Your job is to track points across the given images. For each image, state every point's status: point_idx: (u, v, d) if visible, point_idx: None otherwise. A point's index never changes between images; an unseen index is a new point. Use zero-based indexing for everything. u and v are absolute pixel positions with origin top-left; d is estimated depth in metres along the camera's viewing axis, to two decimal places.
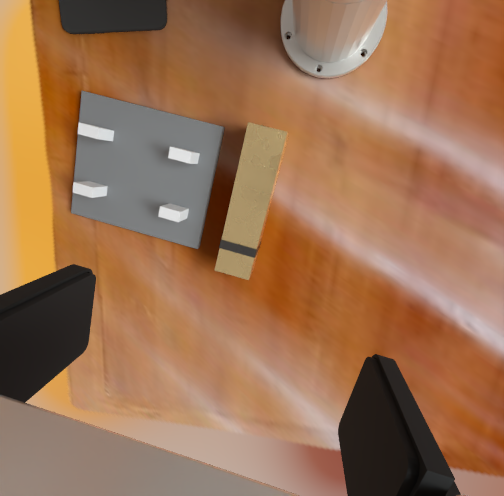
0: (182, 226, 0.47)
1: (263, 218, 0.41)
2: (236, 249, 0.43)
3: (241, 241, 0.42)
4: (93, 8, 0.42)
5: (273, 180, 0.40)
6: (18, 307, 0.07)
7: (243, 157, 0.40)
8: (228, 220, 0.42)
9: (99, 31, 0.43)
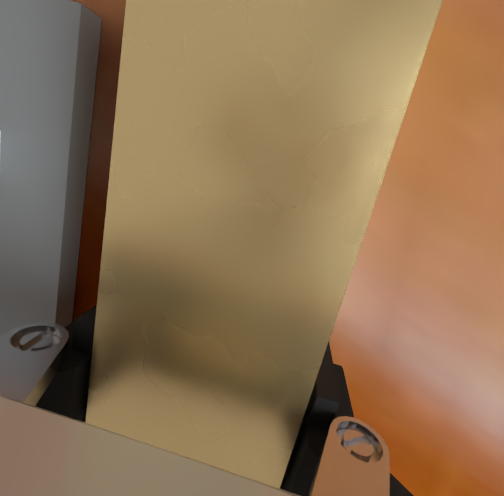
0: None
1: (273, 484, 0.07)
2: None
3: None
4: None
5: (335, 293, 0.06)
6: None
7: (131, 145, 0.06)
8: None
9: None
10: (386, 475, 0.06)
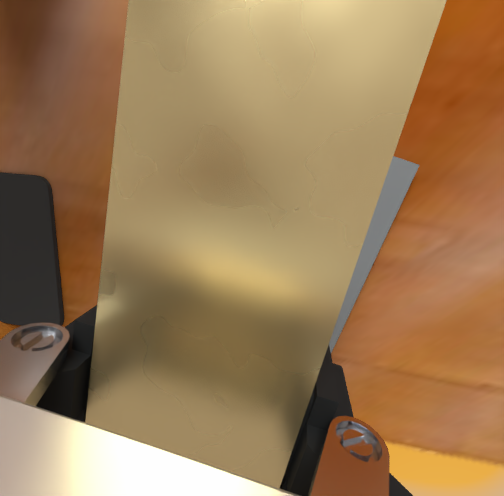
0: None
1: (272, 485, 0.07)
2: None
3: None
4: (31, 281, 0.30)
5: (336, 296, 0.06)
6: None
7: (133, 146, 0.06)
8: None
9: (57, 280, 0.30)
10: (385, 475, 0.06)
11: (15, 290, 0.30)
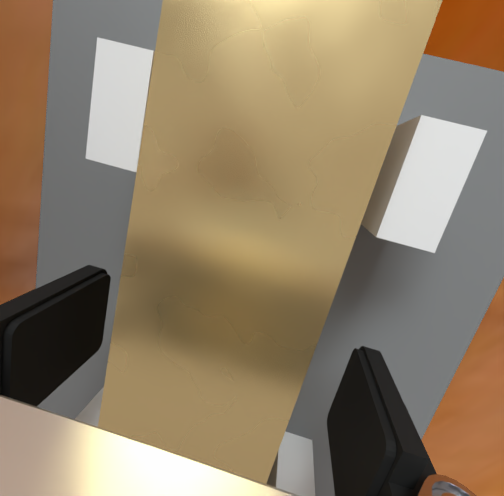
0: None
1: (270, 452, 0.08)
2: None
3: None
4: None
5: (332, 281, 0.07)
6: (40, 306, 0.08)
7: (158, 146, 0.07)
8: None
9: None
10: None
11: None
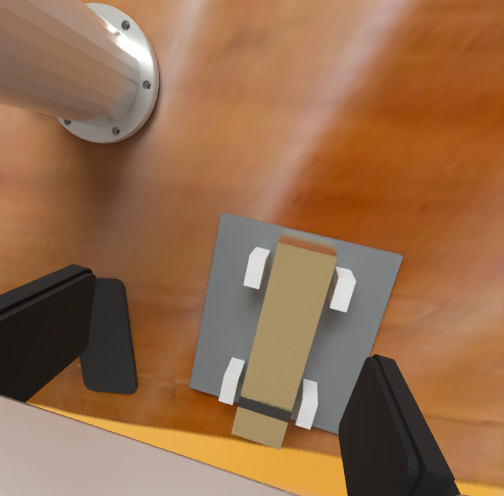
0: (363, 278, 0.30)
1: (301, 371, 0.28)
2: (262, 410, 0.30)
3: (269, 399, 0.29)
4: (112, 357, 0.39)
5: (316, 322, 0.27)
6: (18, 307, 0.07)
7: (271, 289, 0.27)
8: (250, 371, 0.29)
9: (132, 354, 0.38)
10: None
11: (99, 364, 0.39)
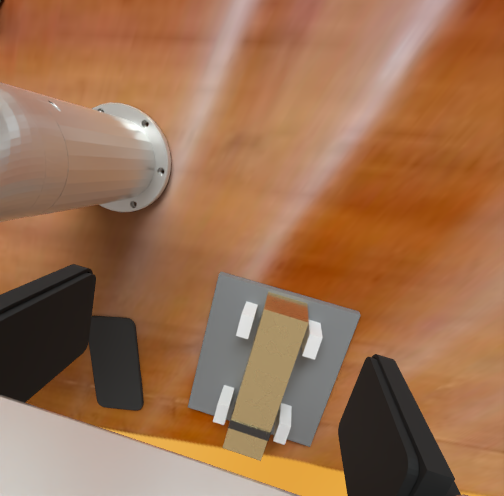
0: (330, 329, 0.39)
1: (278, 403, 0.37)
2: (247, 431, 0.38)
3: (253, 423, 0.38)
4: (122, 381, 0.46)
5: (291, 368, 0.35)
6: (18, 307, 0.07)
7: (257, 342, 0.35)
8: (239, 402, 0.37)
9: (139, 379, 0.46)
10: None
11: (111, 386, 0.47)
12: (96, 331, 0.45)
